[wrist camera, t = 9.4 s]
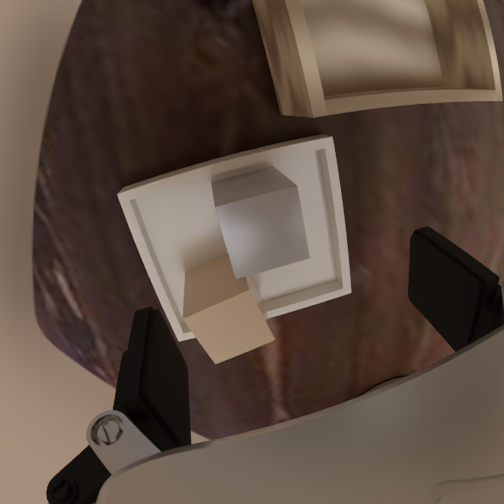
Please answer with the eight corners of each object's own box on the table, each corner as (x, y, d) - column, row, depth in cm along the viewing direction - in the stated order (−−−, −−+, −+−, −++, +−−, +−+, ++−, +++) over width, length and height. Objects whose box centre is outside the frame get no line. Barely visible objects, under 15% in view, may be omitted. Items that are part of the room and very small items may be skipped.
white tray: (342, 281, 28) (351, 292, 26) (179, 326, 28) (178, 341, 26) (322, 134, 22) (332, 136, 21) (123, 187, 22) (117, 194, 20)
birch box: (445, 95, 22) (502, 100, 16) (280, 114, 21) (313, 117, 15) (413, -35, 16) (462, -56, 10) (239, -41, 16) (255, -87, 9)
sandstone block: (260, 293, 27) (275, 339, 21) (211, 314, 27) (215, 364, 21) (237, 248, 25) (249, 289, 19) (185, 272, 25) (182, 318, 19)
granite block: (285, 223, 24) (310, 258, 19) (227, 239, 24) (235, 279, 19) (273, 166, 22) (297, 185, 17) (211, 182, 22) (214, 207, 17)
